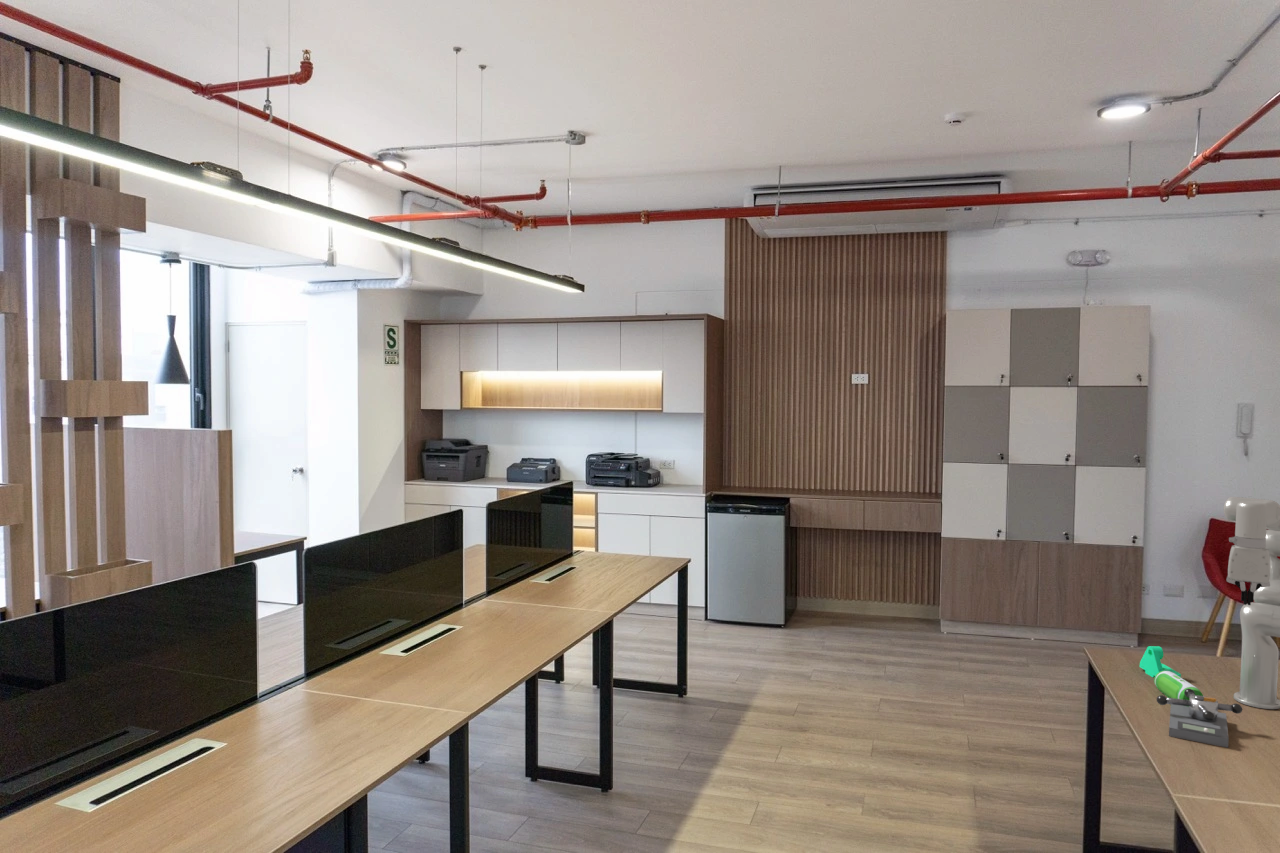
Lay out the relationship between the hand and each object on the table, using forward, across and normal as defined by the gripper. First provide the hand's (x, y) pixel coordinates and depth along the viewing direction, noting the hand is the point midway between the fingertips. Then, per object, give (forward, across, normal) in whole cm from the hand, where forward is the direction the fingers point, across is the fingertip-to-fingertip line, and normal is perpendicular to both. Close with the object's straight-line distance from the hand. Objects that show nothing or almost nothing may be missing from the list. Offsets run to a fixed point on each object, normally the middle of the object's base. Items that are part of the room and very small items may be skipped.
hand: (1246, 603), depth 257 cm
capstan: (+32, -11, -13) cm, 37 cm away
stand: (+35, -11, -16) cm, 40 cm away
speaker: (+36, -16, +7) cm, 40 cm away
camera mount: (+36, -22, +32) cm, 52 cm away
